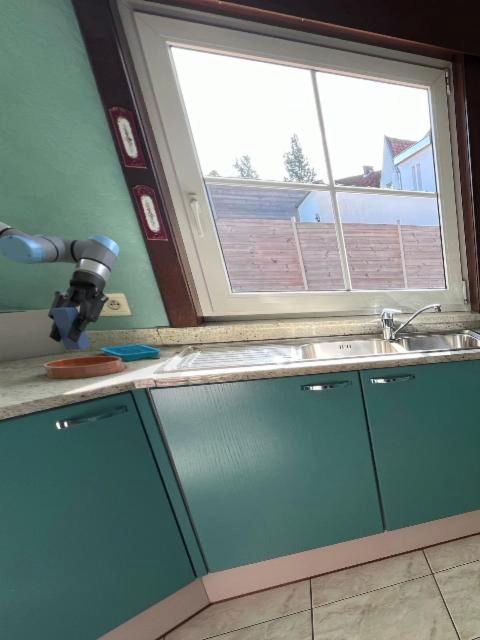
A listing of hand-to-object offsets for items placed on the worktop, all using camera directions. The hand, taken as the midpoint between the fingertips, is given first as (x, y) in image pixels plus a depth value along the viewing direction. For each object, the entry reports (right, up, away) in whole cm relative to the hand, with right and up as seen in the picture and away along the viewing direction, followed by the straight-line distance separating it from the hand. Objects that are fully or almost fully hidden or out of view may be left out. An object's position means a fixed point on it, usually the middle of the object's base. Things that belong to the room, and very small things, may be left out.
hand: (63, 339), depth 146 cm
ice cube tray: (-9, 0, +31) cm, 32 cm away
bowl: (-1, -9, +8) cm, 12 cm away
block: (-1, -2, +5) cm, 5 cm away
